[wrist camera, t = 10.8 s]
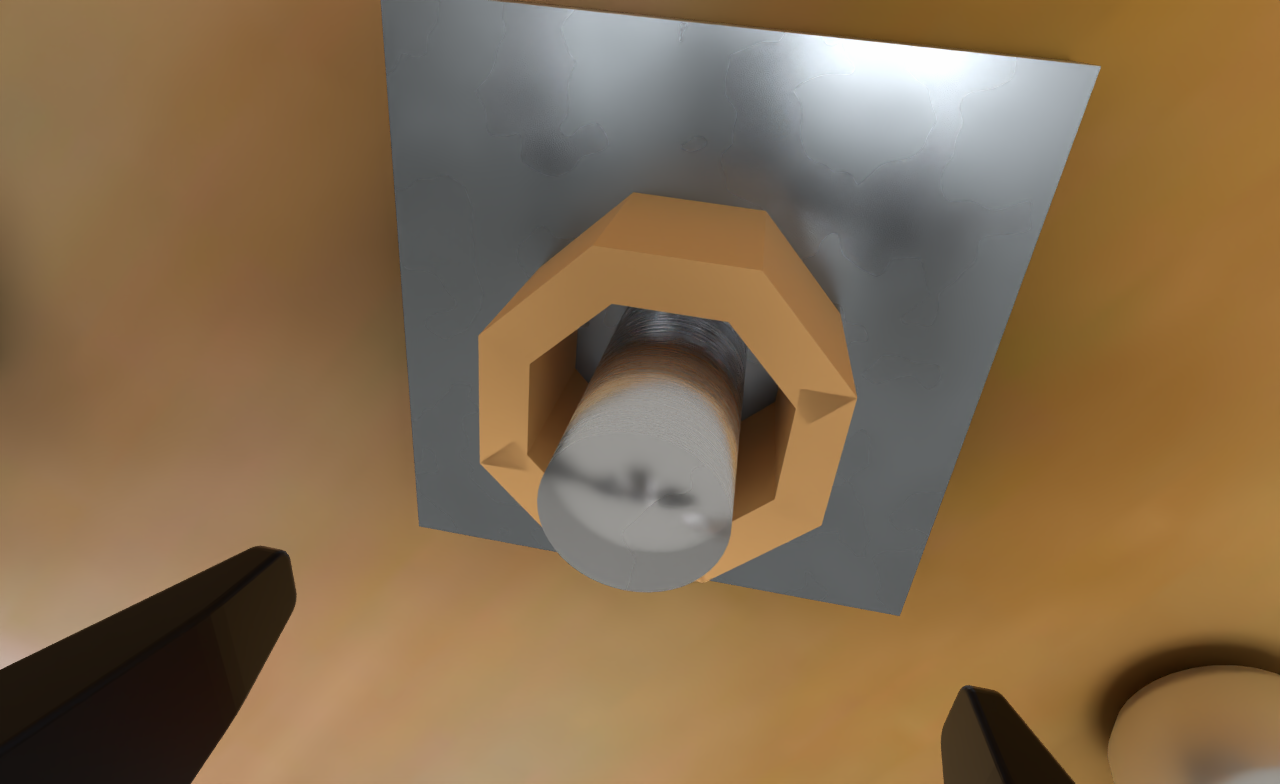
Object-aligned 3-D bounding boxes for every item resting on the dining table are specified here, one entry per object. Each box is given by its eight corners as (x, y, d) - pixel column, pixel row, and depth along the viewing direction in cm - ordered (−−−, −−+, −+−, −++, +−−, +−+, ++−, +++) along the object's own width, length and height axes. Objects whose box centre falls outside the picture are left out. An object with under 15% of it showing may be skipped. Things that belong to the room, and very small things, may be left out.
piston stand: (439, 496, 23) (291, 712, 16) (412, -11, 16) (131, -21, 9) (892, 578, 21) (947, 855, 14) (1072, 60, 15) (1340, 112, 8)
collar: (533, 443, 19) (480, 539, 16) (542, 179, 16) (477, 227, 13) (795, 490, 19) (799, 601, 15) (862, 224, 15) (887, 289, 12)
